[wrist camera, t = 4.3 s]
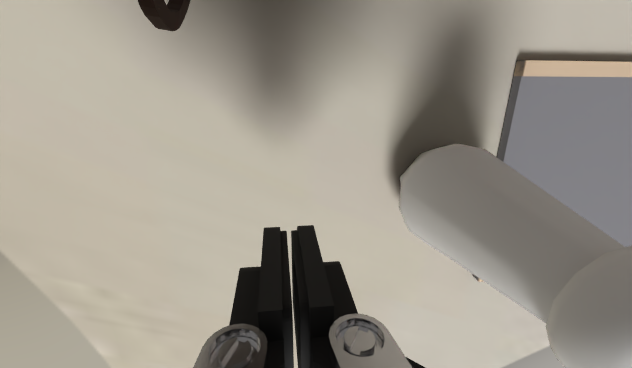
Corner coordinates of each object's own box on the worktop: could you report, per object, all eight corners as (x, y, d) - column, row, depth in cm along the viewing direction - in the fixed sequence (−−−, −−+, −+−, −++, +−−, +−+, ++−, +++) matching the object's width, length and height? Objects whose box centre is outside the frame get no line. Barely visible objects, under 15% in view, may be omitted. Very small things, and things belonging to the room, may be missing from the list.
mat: (727, 64, 19) (744, 63, 18) (645, 262, 23) (655, 267, 23) (516, 60, 17) (526, 60, 16) (472, 275, 22) (478, 281, 21)
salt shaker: (490, 147, 18) (907, 282, 6) (456, 231, 20) (734, 466, 8) (402, 127, 17) (698, 244, 5) (374, 217, 19) (548, 467, 7)
